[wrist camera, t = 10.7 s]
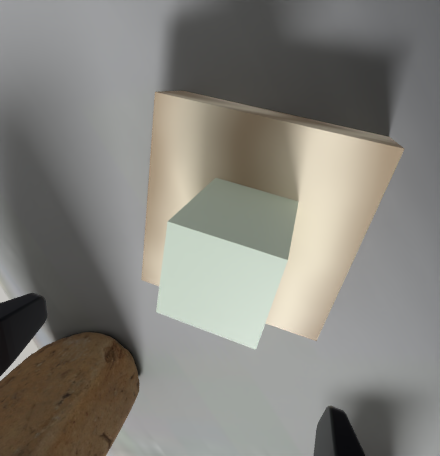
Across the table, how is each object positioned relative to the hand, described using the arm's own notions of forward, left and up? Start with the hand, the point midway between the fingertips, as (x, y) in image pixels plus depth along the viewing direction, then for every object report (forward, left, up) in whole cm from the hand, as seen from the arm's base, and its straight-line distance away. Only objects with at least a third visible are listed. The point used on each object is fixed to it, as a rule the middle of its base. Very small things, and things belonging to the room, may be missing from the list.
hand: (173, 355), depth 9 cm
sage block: (0, 0, -9) cm, 9 cm away
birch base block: (0, 0, -13) cm, 13 cm away
